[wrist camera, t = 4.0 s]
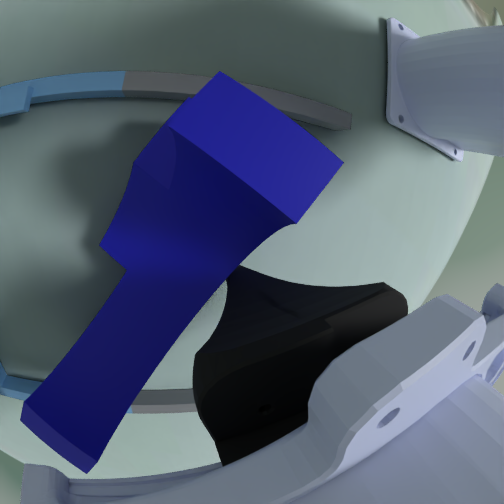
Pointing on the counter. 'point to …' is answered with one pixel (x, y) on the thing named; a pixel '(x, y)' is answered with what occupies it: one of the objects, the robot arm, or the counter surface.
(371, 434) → the robot arm
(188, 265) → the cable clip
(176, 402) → the blue grey open frame
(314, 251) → the counter surface
